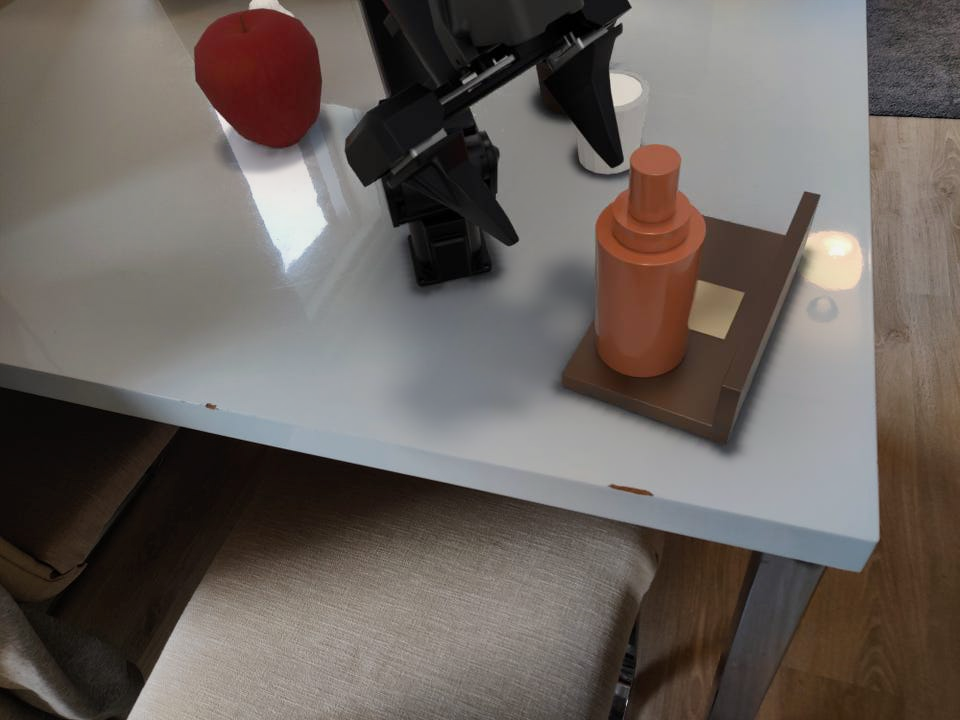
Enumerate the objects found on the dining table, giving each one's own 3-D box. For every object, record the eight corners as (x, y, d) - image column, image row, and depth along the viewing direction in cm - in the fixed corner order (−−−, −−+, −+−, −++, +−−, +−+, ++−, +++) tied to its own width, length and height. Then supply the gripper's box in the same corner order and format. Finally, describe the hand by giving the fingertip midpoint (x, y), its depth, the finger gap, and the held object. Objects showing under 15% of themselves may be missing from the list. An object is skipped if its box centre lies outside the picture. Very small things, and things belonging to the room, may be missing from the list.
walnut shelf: (562, 386, 54) (559, 332, 49) (659, 218, 64) (665, 160, 59) (726, 445, 49) (741, 391, 45) (802, 254, 60) (821, 194, 55)
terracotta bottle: (583, 319, 56) (581, 138, 43) (668, 299, 56) (690, 113, 43) (610, 387, 51) (616, 208, 39) (702, 365, 52) (736, 181, 39)
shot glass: (605, 188, 67) (607, 120, 62) (557, 155, 71) (555, 89, 66) (660, 156, 69) (667, 88, 64) (610, 126, 73) (612, 59, 68)
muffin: (246, 67, 89) (225, 9, 84) (266, 41, 93) (246, -16, 87) (294, 67, 88) (275, 8, 82) (312, 41, 91) (295, -17, 86)
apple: (348, 102, 81) (315, -22, 71) (325, 167, 74) (284, 39, 64) (245, 107, 83) (198, -14, 73) (213, 171, 76) (155, 47, 66)
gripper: (318, -49, 30) (522, 266, 34) (615, -194, 37) (761, 81, 41) (274, 61, 41) (434, 296, 44) (514, -68, 47) (637, 144, 51)
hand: (568, 203), depth 45 cm, fingers open, 9 cm apart
